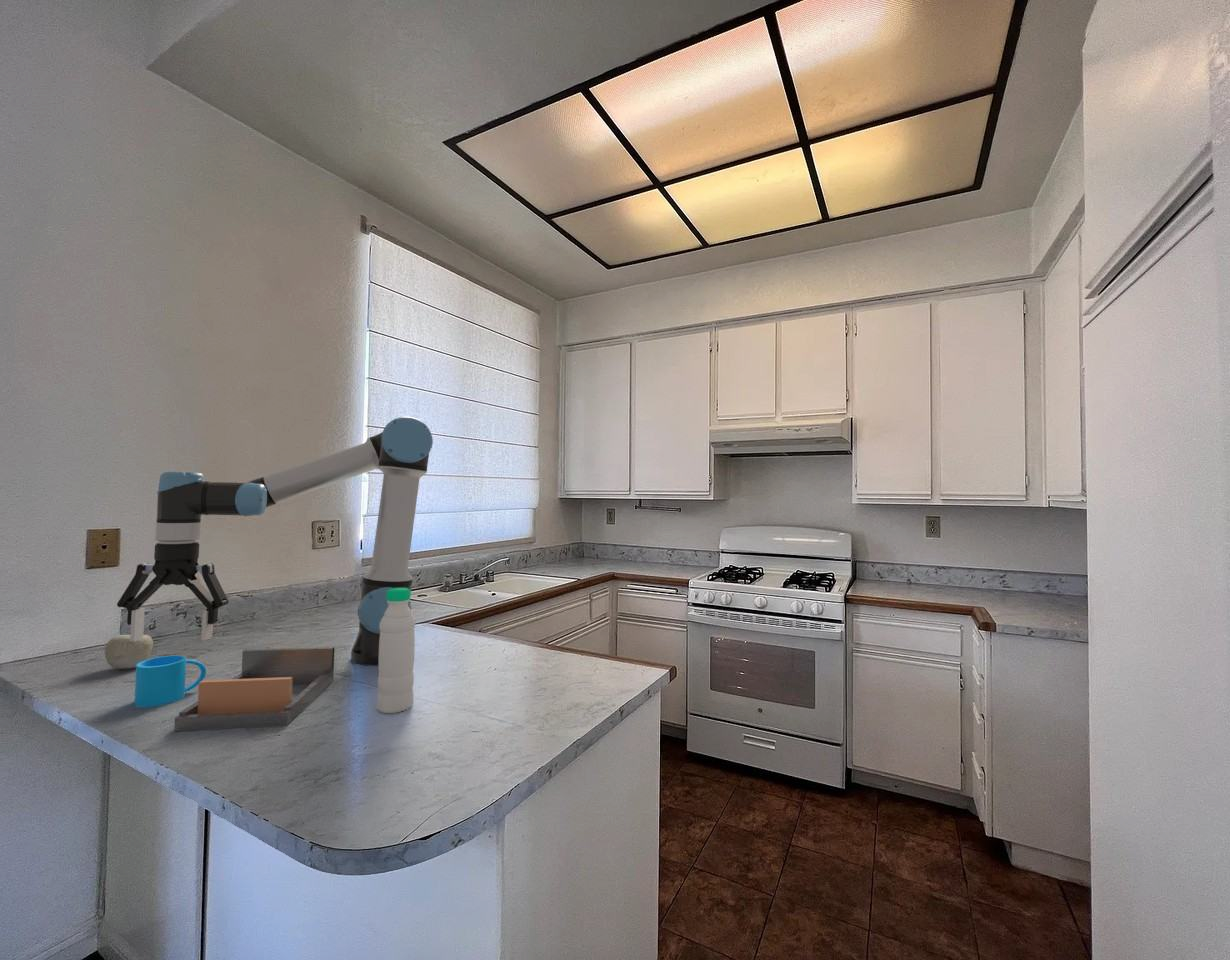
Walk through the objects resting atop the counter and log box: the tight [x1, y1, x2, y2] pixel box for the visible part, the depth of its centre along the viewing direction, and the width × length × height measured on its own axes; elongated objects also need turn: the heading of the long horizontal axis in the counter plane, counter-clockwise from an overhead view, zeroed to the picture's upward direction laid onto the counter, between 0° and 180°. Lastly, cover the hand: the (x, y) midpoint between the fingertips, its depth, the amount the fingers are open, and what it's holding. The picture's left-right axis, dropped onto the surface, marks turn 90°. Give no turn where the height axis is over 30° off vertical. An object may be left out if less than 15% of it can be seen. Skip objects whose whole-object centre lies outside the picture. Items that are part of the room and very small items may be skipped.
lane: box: [173, 646, 335, 732], centre depth 111 cm, size 19×24×8 cm
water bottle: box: [376, 588, 416, 715], centre depth 110 cm, size 7×7×25 cm
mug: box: [134, 655, 207, 708], centre depth 114 cm, size 12×8×8 cm
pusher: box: [197, 677, 293, 714], centre depth 105 cm, size 16×4×7 cm, turn 100°
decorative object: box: [104, 634, 154, 670], centre depth 131 cm, size 9×9×10 cm
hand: (172, 639), depth 114 cm, fingers open, 13 cm apart
